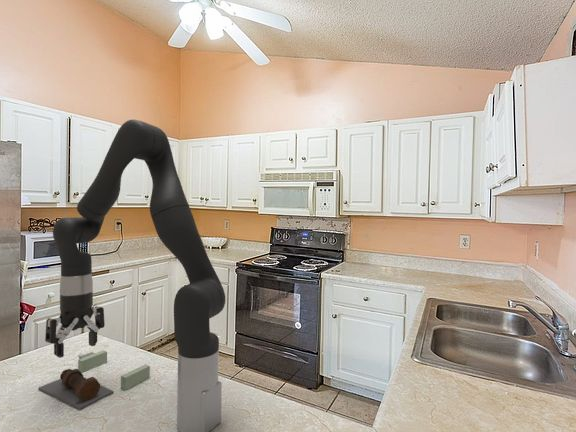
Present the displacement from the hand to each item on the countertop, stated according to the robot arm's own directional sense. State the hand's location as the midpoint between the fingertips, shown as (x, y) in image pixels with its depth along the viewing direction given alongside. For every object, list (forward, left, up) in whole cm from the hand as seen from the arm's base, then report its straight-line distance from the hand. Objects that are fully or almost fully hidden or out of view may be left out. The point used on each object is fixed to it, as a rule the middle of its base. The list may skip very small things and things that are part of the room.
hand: (76, 350), depth 90 cm
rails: (+3, -11, -11) cm, 16 cm away
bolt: (-1, 0, -11) cm, 11 cm away
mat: (0, 0, -11) cm, 11 cm away
